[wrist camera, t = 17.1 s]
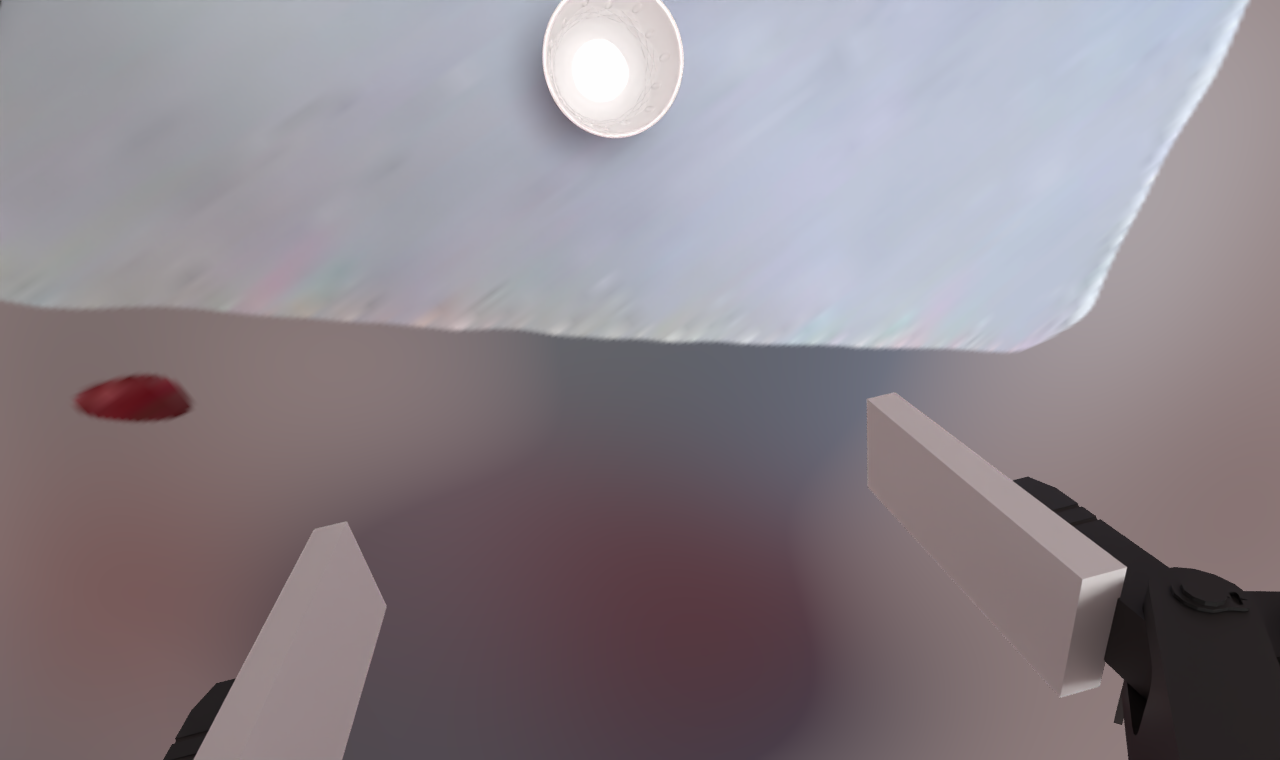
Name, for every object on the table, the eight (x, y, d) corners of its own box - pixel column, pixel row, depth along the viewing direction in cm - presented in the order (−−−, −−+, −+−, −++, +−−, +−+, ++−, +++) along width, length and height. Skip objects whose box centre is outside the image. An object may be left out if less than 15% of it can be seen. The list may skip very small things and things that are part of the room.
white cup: (627, -11, 41) (655, -48, 32) (666, 108, 44) (702, 106, 35) (520, 34, 41) (517, 11, 32) (567, 150, 44) (577, 159, 35)
